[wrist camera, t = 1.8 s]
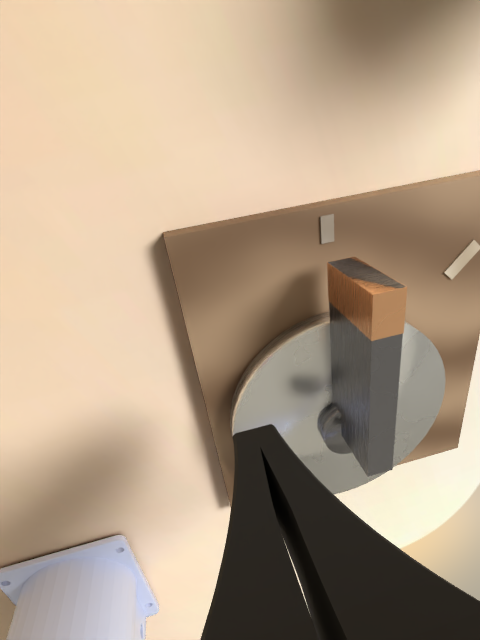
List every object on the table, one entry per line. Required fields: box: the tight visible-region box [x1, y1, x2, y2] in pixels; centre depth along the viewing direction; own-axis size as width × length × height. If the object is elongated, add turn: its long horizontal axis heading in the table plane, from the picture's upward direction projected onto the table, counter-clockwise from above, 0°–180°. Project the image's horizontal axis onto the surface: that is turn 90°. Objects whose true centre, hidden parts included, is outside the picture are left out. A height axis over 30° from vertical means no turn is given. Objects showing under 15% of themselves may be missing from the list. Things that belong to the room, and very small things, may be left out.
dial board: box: [163, 170, 480, 506], centre depth 20 cm, size 18×16×1 cm
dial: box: [230, 256, 445, 494], centre depth 18 cm, size 15×12×5 cm
